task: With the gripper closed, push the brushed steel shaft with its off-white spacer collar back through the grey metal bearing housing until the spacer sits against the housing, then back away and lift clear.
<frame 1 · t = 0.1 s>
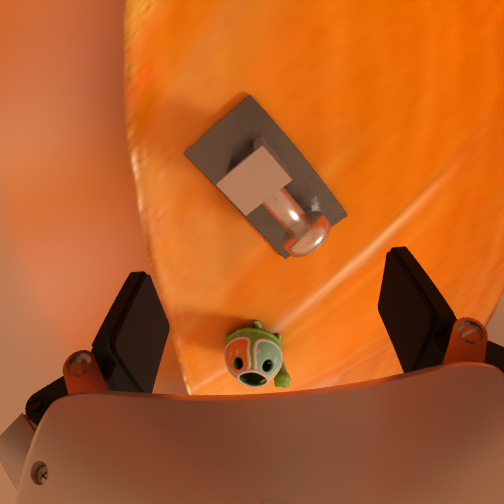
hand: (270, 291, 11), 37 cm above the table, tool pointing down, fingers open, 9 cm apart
bearing housing: (254, 164, 45), on the table
turtle holder: (258, 340, 67), on the table
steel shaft: (281, 205, 43), point 6 cm above the table, slide at 8.0 cm
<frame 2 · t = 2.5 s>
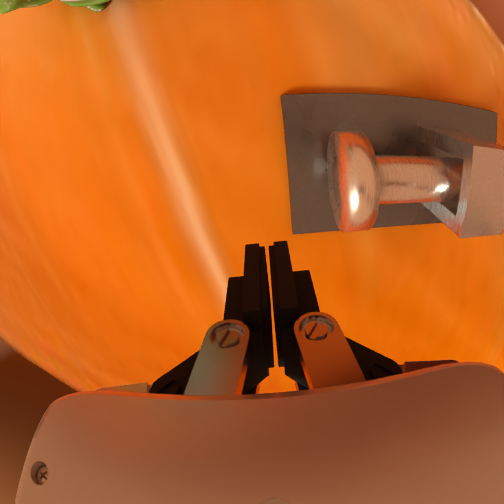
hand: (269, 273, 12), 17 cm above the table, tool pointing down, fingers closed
bearing housing: (437, 162, 25), on the table
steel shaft: (416, 179, 21), point 6 cm above the table, slide at 8.0 cm
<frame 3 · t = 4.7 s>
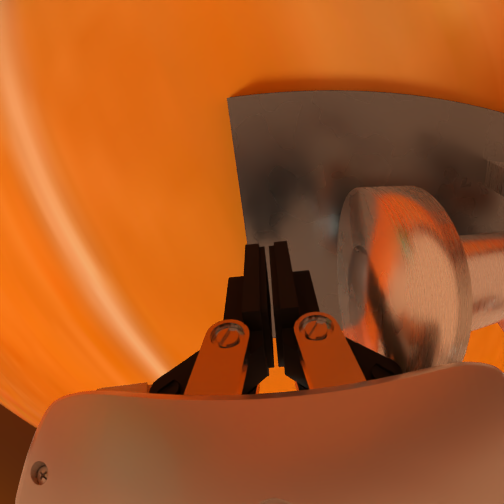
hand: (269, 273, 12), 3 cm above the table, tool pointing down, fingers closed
bearing housing: (498, 216, 14), on the table
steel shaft: (499, 276, 9), point 6 cm above the table, slide at 7.2 cm, touching gripper
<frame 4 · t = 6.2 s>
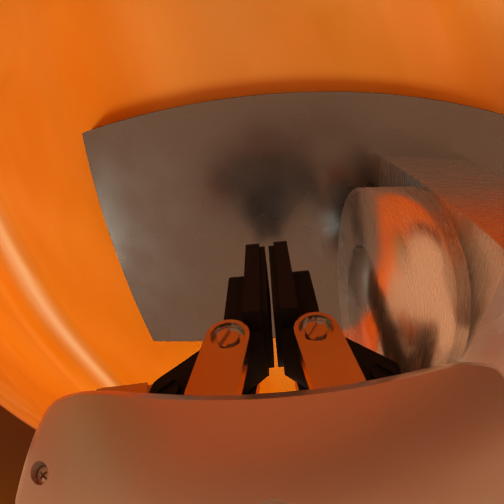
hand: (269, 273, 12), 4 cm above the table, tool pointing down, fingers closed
bearing housing: (417, 222, 14), on the table
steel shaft: (499, 277, 9), point 6 cm above the table, slide at -0.2 cm, touching gripper
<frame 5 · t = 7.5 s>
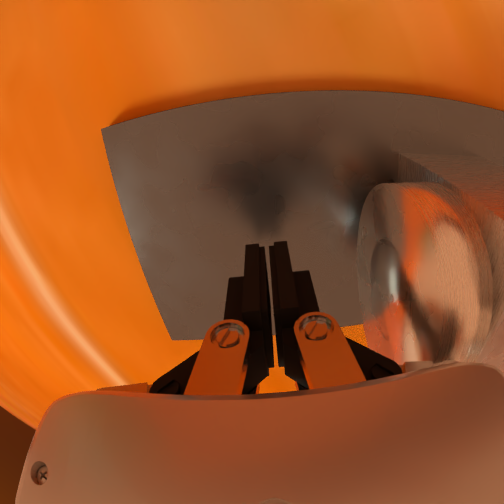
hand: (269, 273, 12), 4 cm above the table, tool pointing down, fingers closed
bearing housing: (431, 216, 14), on the table
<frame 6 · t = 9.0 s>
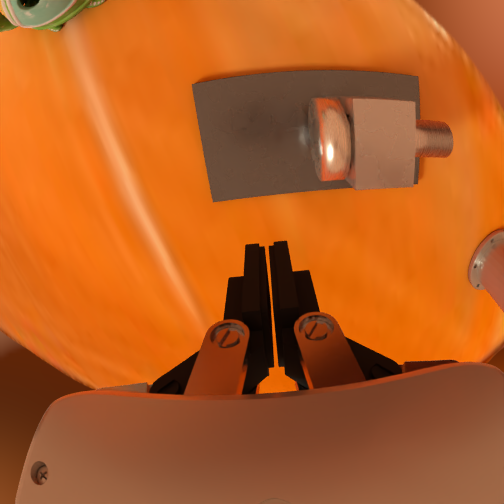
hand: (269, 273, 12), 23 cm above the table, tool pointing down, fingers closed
bearing housing: (351, 129, 29), on the table
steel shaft: (386, 137, 24), point 6 cm above the table, slide at 0.0 cm
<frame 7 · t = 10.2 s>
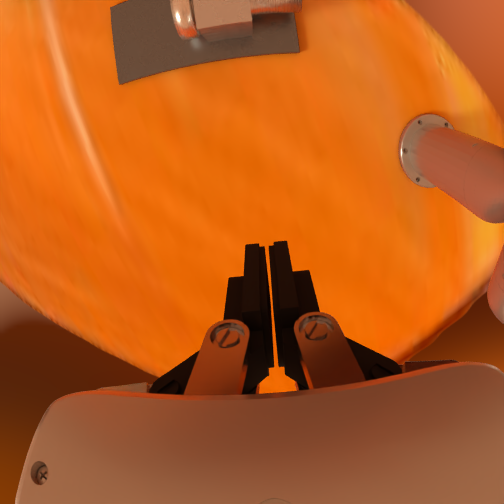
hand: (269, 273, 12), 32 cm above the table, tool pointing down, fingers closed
bearing housing: (227, 15, 29), on the table
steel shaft: (238, 2, 24), point 6 cm above the table, slide at 0.0 cm
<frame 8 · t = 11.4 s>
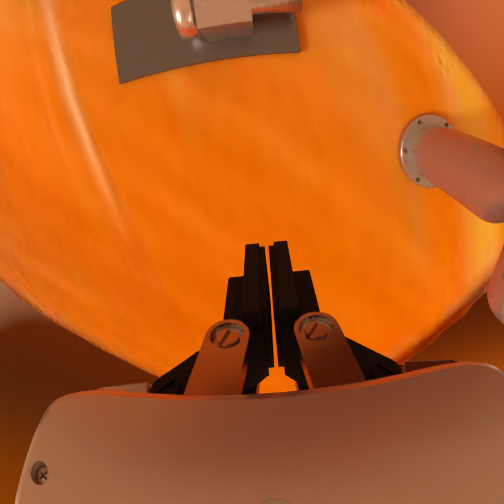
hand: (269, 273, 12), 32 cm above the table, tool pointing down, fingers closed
bearing housing: (228, 15, 29), on the table
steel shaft: (238, 2, 24), point 6 cm above the table, slide at 0.0 cm
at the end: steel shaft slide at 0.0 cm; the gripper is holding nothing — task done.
